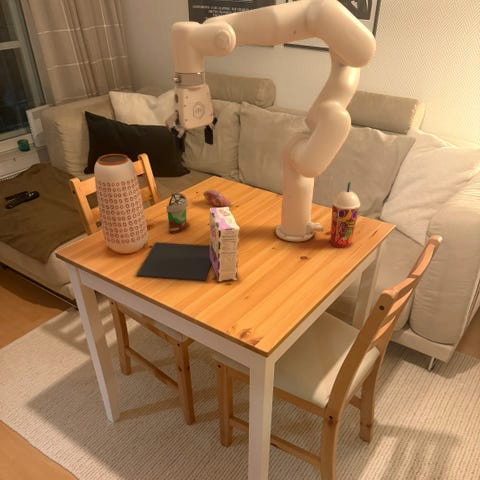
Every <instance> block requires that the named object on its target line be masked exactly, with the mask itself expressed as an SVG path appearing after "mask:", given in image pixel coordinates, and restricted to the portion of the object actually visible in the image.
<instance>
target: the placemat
mask: <svg viewBox="0 0 480 480" xmlns="http://www.w3.org/2000/svg"><path fill="white" fill-rule="evenodd" d="M211 266H212V263H211V261H210V245H204V244H203V245H202V244H201V245H200V244H187V243H186V244H184V243H170V242H169V243H167V242H155V243H154V245H153V247H152V248H151V250H150V252H149V254H148V255H147V257H146V259H145V261H144V262H143V264H142V265H141V267H140V269H139V270H138V272H137V274H136V277H141V278H142V277H143V278H154V279H155V278H156V279H171V280H182V281H184V280H185V281H197V282H205V281H206V279H207V276H208V274H209V270H210V268H211Z"/></svg>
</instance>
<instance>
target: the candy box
mask: <svg viewBox="0 0 480 480" xmlns="http://www.w3.org/2000/svg"><path fill="white" fill-rule="evenodd" d="M239 243H240V226H239V225H238V223H237V221H236V219H235V217H234V215H233V213H232V211H231V209H230V206H217V207H209V246H210V261H211V266H212V269H213V272H214V274H215V275H214V276H215V277H216V280H217V282H231V281H237V279H238V261H239V246H240V245H239Z"/></svg>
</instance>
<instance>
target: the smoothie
mask: <svg viewBox="0 0 480 480" xmlns="http://www.w3.org/2000/svg"><path fill="white" fill-rule="evenodd" d="M350 188H351V182H350V181H348V182H347V188H346V190H342V191H341V192H339V193H338V194H337V195H335V197H334V199H333V200H332V202H331V204H332V207H331V223H330V224H331V226H330V242H331V244H332V245H333V246H335V247H338V248H345V247H348V246H349V245H350V244H351V243H352V242H353V237H354V232H355V229H356V224H357V220H358V216H359V212H360V207H361V201H360V199H359V197H358V195H357V194H356V193H355V192H354V191H352V190H351V189H350Z"/></svg>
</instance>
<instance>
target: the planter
mask: <svg viewBox="0 0 480 480" xmlns="http://www.w3.org/2000/svg"><path fill="white" fill-rule="evenodd" d="M93 172H94V182H95V191H96V199H97V205H98V212H99V217H100V223H101V229H102V234H103V238H104V241H105V243H106V245H107V246H108V247H109V248H110V249H111V250H112V251H114V252H115V253H117V254H119V255H132V254H135V253H136V254H137V253H138V252H139V251H141V250H142V249H143V247H144V246H145V244H146V242H147V240H148V227H147V219H146V215H145V208H144V202H143V197H142V192H141V188H140V183H139V179H138V175H137V171H136V168H135V164H134V163H133V161H132V160H131V158H129V157H128V156H127V155H125V154H122V153H109V154H104V155H102V156H99V157H98V159H97V160H96V162H95V165H94V170H93Z"/></svg>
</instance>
